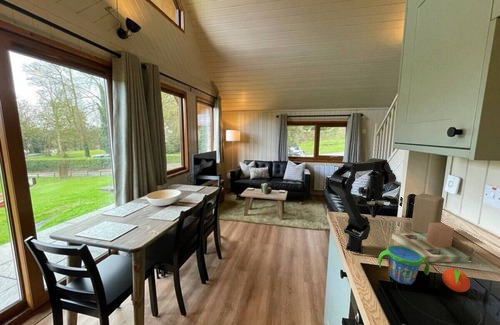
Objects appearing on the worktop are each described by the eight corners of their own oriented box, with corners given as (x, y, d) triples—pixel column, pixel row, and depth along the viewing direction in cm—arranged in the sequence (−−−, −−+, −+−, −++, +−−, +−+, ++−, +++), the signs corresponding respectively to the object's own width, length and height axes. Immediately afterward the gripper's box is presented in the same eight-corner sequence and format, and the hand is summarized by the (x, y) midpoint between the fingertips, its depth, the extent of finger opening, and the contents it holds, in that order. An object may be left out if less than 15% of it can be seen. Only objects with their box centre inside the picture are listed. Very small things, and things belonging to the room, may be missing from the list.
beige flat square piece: (423, 261, 88) (425, 248, 87) (391, 238, 108) (392, 226, 107) (471, 262, 88) (473, 248, 87) (430, 238, 108) (432, 227, 107)
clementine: (469, 302, 67) (473, 282, 66) (440, 291, 72) (443, 272, 71) (467, 289, 73) (471, 270, 72) (440, 279, 78) (443, 261, 77)
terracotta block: (437, 247, 95) (440, 228, 93) (426, 240, 101) (429, 222, 99) (451, 247, 95) (454, 228, 93) (439, 240, 101) (441, 222, 99)
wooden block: (439, 233, 114) (444, 197, 111) (433, 238, 108) (438, 200, 105) (417, 226, 122) (421, 192, 119) (410, 230, 116) (414, 195, 114)
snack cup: (421, 275, 80) (425, 249, 78) (433, 294, 70) (437, 266, 69) (374, 265, 85) (376, 241, 84) (379, 282, 76) (382, 255, 74)
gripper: (385, 181, 107) (382, 211, 109) (348, 181, 107) (346, 210, 109) (400, 187, 96) (397, 220, 98) (359, 186, 96) (357, 219, 98)
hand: (373, 217), depth 101 cm, fingers closed
